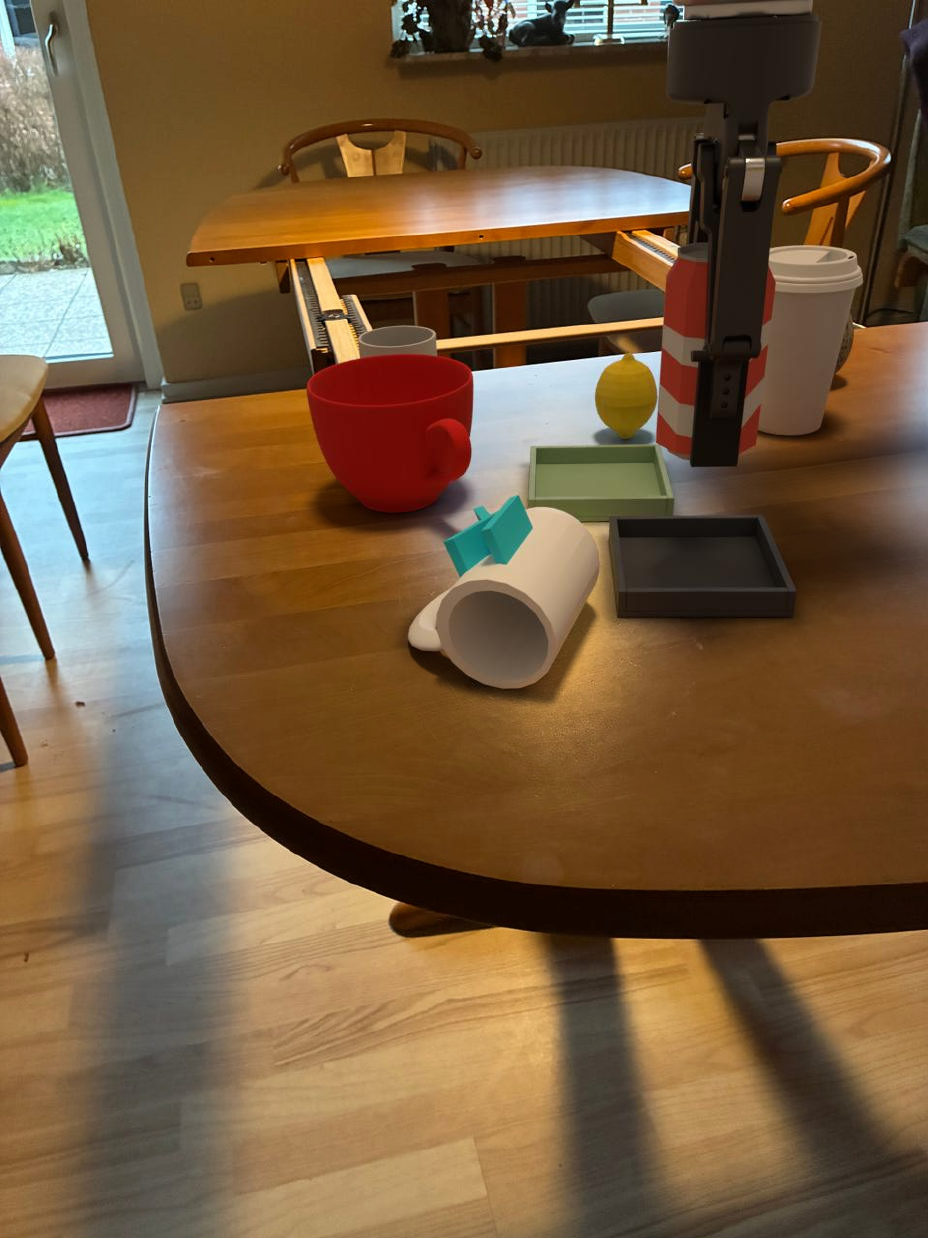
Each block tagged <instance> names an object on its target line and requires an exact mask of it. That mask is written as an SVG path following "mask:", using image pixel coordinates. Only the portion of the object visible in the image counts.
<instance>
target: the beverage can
mask: <svg viewBox="0 0 928 1238" xmlns="http://www.w3.org/2000/svg"><path fill="white" fill-rule="evenodd" d="M676 250H677V252H676V253H677V257H676V259H675V261H674V262H673V264H672V266H671V267H670V269H669V270H668V272H667V274H666V275H665V290H664V306H663V318H662V319H663V321H662V335H661V336H662V337H661V351H660V366H659V367H660V368H659V382H658V383H659V384H658V396H657V397H658V398H657V413H656V414H657V415H656V416H657V417H656V427H655V430H656V431H655V444H659V445H660V447H663V448H665V449H666V450H667V452H668V453H669V454H671V455H674V456H675V457H677V458H679V459H681V460H684V461H690V453H691V442H692V430H693V418H694V407H695V395H696V383H697V372H698V362H691V351H693V350H702V349H703V346H704V341H705V315H706V289H707V263H708V242H704V243H693V244H689V245H686V244H685V245H683V246H682V245H681V246H678V247H677V249H676ZM775 286H776V282H775V279H774V277H773V275H772V272H771V270H770V267H769V265H768V274H767V284H766V293H765V303H764V313H763V323H762V333H761V344H762V347H761V352H760V355H759V356H758V358H755V359H750V361H749V367H748V376H747V385H746V394H745V402H744V411H743V420H742V429H741V437H740V446H739V455H741V454H742V453H744V452H746V451H747V450H750V449H751V448H753V447H755V446H757V440H758V432H759V430H758V424H759V416H760V408H761V400H762V392H763V384H764V376H765V367H766V359H767V351H768V343H769V335H770V327H771V319H772V311H773V302H774V294H775ZM729 336H740V335H729Z"/></svg>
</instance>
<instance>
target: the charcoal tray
mask: <svg viewBox="0 0 928 1238" xmlns="http://www.w3.org/2000/svg"><path fill="white" fill-rule="evenodd" d="M608 522H609V523H608V527H609V528H608V544H609V553H610V562H611V563H610V564H611V571H612V579H613V587H614V596H615V604H616V605H615V606H616V613H617V614H616V615H617V618H623V617H624V618H646V617H647V618H648V617H649V618H793V617H794V611H795V605H796V600H797V593H798V592H797V588H796V586H795V584H794V582H793V580H792V577H791V574H790V573H789V571H788V568H787V566H786V563H785V561H784V559H783V556H782V554H781V552H780V550H779V547H778V545H777V543H776V541H775V539H774V536H773V534H772V532H771V529H770V526H769V525H768V523H767V522H768V521H767V520H766V517H765V516H764V514H716V515H715V514H711V515H710V514H708V515H707V514H706V515H705V514H704V515H703V514H702V515H700V514H699V515H695V514H694V515H693V514H692V515H673V516H617V517H616V516H610V519H609V521H608Z"/></svg>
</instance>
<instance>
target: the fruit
mask: <svg viewBox="0 0 928 1238" xmlns="http://www.w3.org/2000/svg"><path fill="white" fill-rule="evenodd" d="M658 397H659V396H658V388H657V384H656V379H655V376H654V374H653V372H652V370H651V369H650V367H649V366H648V365H646V364H645V363H643V362H642V361H640V360H637V359H636V358H635V356H634V354H633V353H632V352H630V351H627V352H626V353H624V354H623V356H622V358H621V359H619V360H616V361H614V362H612V363H610V364H609V365H607V366H606V367H605V368H604V369H603V371H602V373H601V374H600V376H599V379H598V380H597V383H596V387H595V393H594V402H595V404H594V405H595V408H596V409H595V410H596V412H597V415H598V417H599V418H600V420H601V421H602V423H603V425H605V426H606V427H607V428H609V429H610V430H611V431H613V432H615V433H616V435H617V436H618V438H621V439H623V440H628V439H631V438H632V437H633V436H635V434H636V432H638V431H639V430H640V429H641V428H643V427H644V426H645V425H646V424H647V423H648V422H649V420H650V419H651V418H652V416H653V414H654V412H655V410H656V407H657V405H658Z"/></svg>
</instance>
